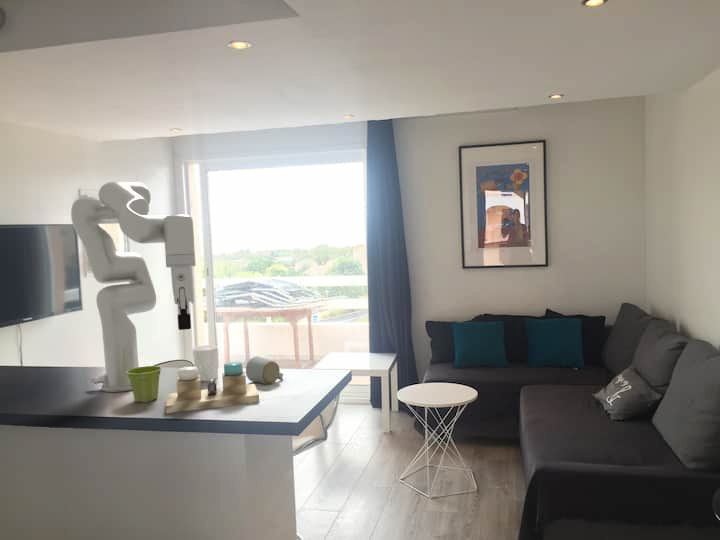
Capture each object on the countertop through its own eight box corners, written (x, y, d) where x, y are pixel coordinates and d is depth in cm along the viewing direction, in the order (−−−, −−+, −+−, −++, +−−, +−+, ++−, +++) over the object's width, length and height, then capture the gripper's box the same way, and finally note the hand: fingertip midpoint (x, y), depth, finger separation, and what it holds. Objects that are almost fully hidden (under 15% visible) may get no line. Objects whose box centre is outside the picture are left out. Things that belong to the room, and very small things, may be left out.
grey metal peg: (208, 396, 158) (207, 381, 157) (207, 393, 160) (206, 379, 160) (217, 394, 158) (216, 380, 158) (216, 392, 161) (215, 378, 160)
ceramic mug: (264, 387, 172) (263, 361, 171) (245, 383, 177) (244, 358, 176) (289, 379, 180) (288, 355, 180) (270, 376, 185) (269, 352, 184)
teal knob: (225, 394, 158) (224, 367, 157) (224, 389, 162) (223, 363, 162) (244, 391, 159) (242, 365, 158) (243, 387, 164) (241, 361, 163)
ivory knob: (179, 399, 154) (177, 371, 154) (180, 394, 159) (178, 367, 159) (199, 397, 156) (197, 369, 155) (199, 392, 161) (197, 365, 160)
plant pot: (128, 398, 166) (125, 368, 166) (162, 393, 170) (160, 364, 169) (129, 406, 158) (126, 375, 157) (165, 401, 162) (163, 370, 161)
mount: (166, 413, 150) (164, 387, 150) (168, 400, 162) (166, 376, 161) (259, 402, 157) (257, 376, 156) (254, 390, 168) (253, 366, 168)
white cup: (216, 381, 181) (214, 349, 180) (191, 382, 181) (189, 350, 180) (222, 375, 189) (220, 344, 188) (198, 376, 189) (196, 345, 188)
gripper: (195, 261, 149) (199, 332, 150) (195, 259, 163) (199, 323, 164) (164, 263, 147) (169, 335, 148) (167, 260, 161) (171, 325, 162)
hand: (184, 328), depth 156 cm, fingers closed
